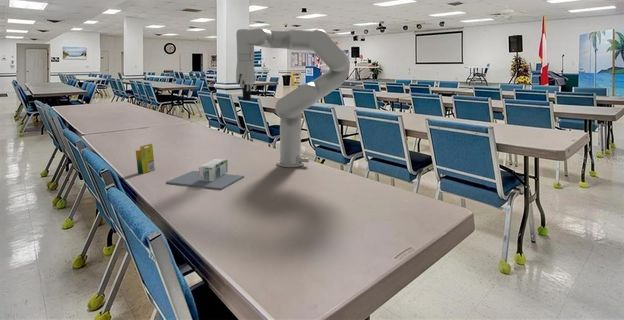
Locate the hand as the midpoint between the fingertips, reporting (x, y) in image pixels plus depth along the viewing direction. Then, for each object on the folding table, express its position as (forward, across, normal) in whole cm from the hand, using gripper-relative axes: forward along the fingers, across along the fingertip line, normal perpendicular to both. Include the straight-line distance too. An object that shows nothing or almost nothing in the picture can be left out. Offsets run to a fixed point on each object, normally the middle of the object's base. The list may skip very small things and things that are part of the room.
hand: (246, 100), depth 181 cm
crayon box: (+29, +30, -33) cm, 53 cm away
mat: (+29, +33, -2) cm, 44 cm away
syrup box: (+26, +21, -2) cm, 33 cm away
